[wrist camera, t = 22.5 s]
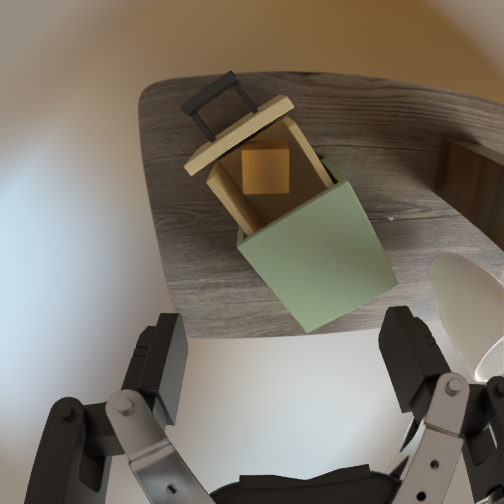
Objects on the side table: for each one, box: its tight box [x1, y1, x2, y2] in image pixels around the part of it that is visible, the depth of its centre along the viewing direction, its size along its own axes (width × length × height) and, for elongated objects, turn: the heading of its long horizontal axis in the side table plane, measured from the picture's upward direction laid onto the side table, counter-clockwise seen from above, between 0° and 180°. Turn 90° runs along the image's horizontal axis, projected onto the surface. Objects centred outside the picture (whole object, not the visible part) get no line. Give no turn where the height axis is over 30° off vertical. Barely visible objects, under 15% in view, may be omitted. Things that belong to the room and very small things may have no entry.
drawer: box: [181, 71, 334, 237], centre depth 31 cm, size 18×11×8 cm, turn 34°
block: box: [241, 140, 290, 195], centre depth 32 cm, size 5×5×5 cm
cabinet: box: [237, 157, 398, 333], centre depth 36 cm, size 15×13×10 cm
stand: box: [434, 138, 504, 251], centre depth 28 cm, size 8×8×18 cm
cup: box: [429, 252, 504, 382], centre depth 33 cm, size 10×10×22 cm
